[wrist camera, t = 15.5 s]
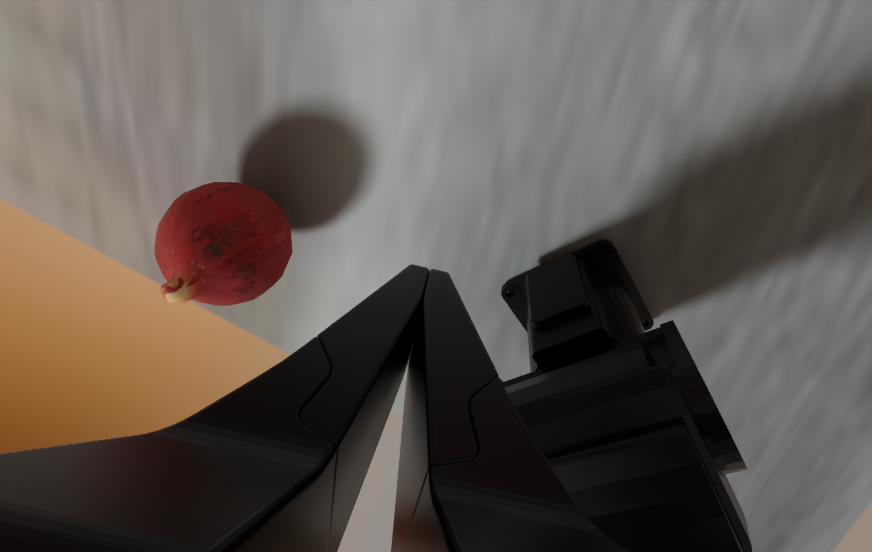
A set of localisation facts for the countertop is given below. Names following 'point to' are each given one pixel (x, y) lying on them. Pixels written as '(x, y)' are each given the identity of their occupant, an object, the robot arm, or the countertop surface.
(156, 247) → the pomegranate
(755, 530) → the countertop surface
